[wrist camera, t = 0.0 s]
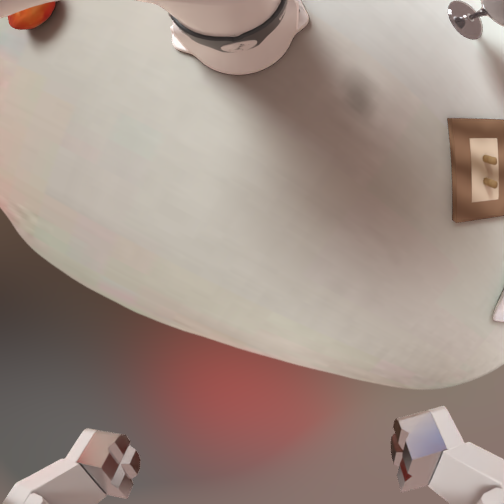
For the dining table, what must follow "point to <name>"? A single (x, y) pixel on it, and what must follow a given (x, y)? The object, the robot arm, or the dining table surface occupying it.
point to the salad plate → (499, 310)
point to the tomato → (31, 16)
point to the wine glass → (474, 16)
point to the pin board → (477, 168)
